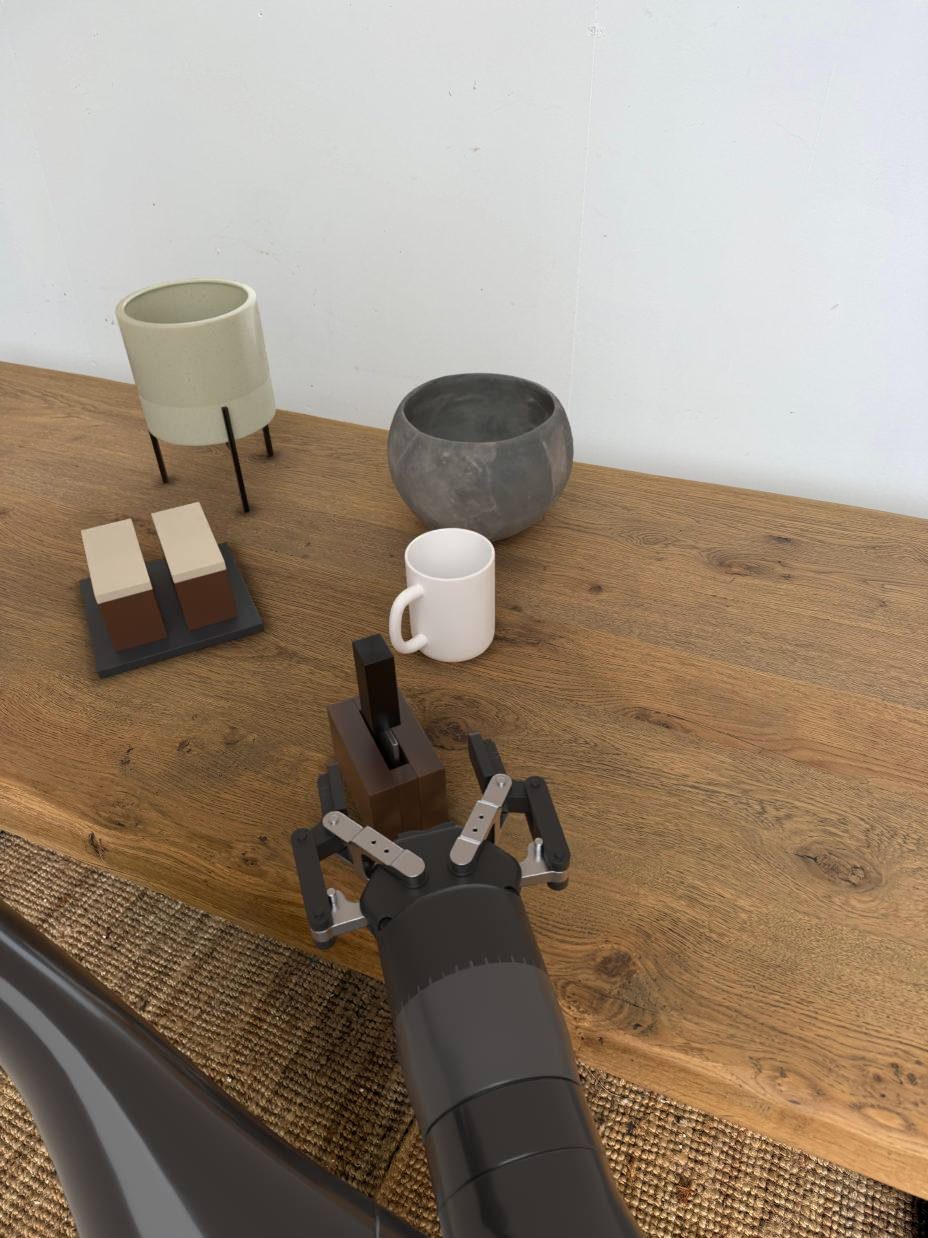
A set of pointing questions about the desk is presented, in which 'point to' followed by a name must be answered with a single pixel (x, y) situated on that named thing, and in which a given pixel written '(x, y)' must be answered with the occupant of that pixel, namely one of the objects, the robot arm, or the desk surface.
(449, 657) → the cup
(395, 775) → the knife block
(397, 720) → the knife
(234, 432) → the planter
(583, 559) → the desk surface
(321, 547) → the desk surface
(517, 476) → the bowl
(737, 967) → the desk surface
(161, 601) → the cake
